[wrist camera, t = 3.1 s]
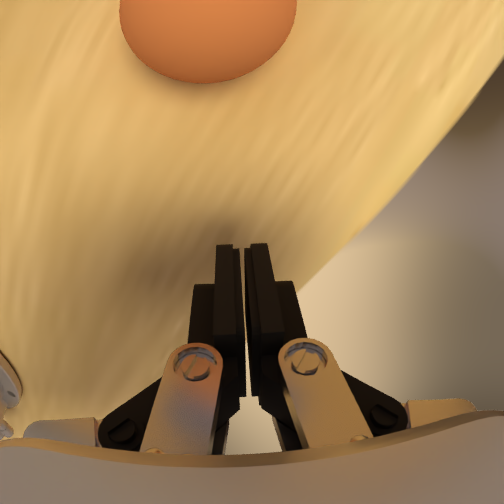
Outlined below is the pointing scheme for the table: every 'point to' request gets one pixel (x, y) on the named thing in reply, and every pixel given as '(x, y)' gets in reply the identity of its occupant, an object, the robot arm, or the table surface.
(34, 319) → the table surface
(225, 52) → the ball
